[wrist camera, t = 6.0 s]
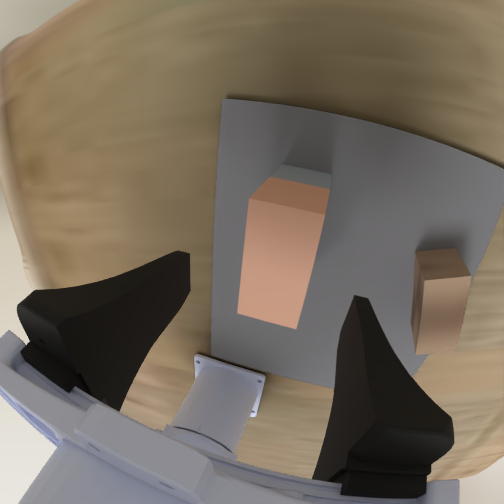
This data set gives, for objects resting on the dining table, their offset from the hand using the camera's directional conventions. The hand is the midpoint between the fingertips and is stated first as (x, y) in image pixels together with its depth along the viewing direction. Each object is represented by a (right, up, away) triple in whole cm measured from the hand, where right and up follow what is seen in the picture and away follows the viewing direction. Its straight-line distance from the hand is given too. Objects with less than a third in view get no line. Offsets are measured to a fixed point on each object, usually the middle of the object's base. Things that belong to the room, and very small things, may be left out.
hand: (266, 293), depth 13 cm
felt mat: (+6, -1, +9) cm, 11 cm away
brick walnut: (+13, -1, +7) cm, 14 cm away
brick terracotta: (+2, +3, +4) cm, 5 cm away
